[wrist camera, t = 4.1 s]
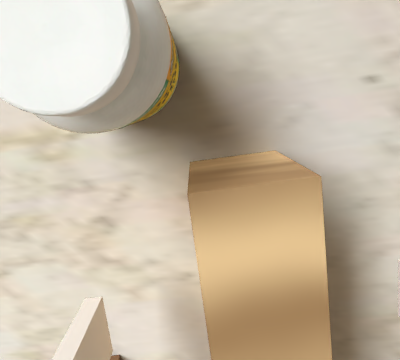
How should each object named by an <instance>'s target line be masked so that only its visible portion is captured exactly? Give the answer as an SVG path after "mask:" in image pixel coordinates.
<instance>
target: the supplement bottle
mask: <svg viewBox="0 0 400 360" xmlns="http://www.w3.org/2000/svg"><path fill="white" fill-rule="evenodd" d="M178 77H179V59H178V53H177V49H176V46H175V43H174V40H173V37H172V34H171V31H170V28H169V25H168V22H167V19H166V16H165V14H164V12H163V10H162V8H161V5H160V3H159V1H158V0H0V98H1V99H2V100H4V101H5V102H7V103H9V104H11V105H12V106H14V107H16V108H19V109H21V110H23V111H26V112H30V113H33V114H34V115H36V116H37V117H38V118H40V119H42V120H43V121H45V122H47V123H49V124H51V125H53V126H55V127H58V128H61V129H64V130H67V131H71V132H77V133H102V132H107V131H112V130H116V129H120V128H123V127H125V126H127V125H130V124H133V123H136V122H138V121H141V120H144V119H146V118H149V117H150V116H152V115H154V114H156V113H157V112H158V111H160V110H161V109H162V108H163V107H164V106H165V105H166V104H167V103H168V101H169V100H170V98H171V97H172V95H173V93H174V90H175V88H176V85H177V82H178Z"/></svg>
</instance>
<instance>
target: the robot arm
mask: <svg viewBox="0 0 400 360" xmlns="http://www.w3.org/2000/svg"><path fill="white" fill-rule="evenodd" d="M398 316H399V317H400V260H398ZM112 352H113V349H112V344H111V339H110V334H109V329H108V324H107V319H106V314H105V309H104V303H103V298H102V296H101V297H93V298H85V299H84V301H83V303H82V305H81V306H80V308H79V310H78V312H77V314H76V316H75V317H74V319H73V321H72V323H71V325H70V327H69V328H68V330H67V332H66V334H65V336H64V338H63V339H62V341H61V343H60V345H59V347H58V349H57V350H56V352H55V354H54V356H53V358H52V360H110V358H111V355H112Z"/></svg>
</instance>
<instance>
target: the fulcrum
mask: <svg viewBox="0 0 400 360" xmlns="http://www.w3.org/2000/svg"><path fill="white" fill-rule="evenodd" d="M110 360H120V355H115V356H111V358H110Z"/></svg>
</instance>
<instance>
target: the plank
mask: <svg viewBox="0 0 400 360" xmlns="http://www.w3.org/2000/svg"><path fill="white" fill-rule="evenodd" d="M187 194H188V201H189V208H190V215H191V222H192V229H193V236H194V243H195V250H196V257H197V263H198V270H199V277H200V284H201V291H202V298H203V305H204V312H205V319H206V326H207V333H208V339H209V346H210V353H211V360H332V349H331V332H330V315H329V299H328V282H327V265H326V248H325V232H324V215H323V198H322V182H321V176H320V175H318V174H316V173H314V172H313V171H311V170H309V169H307V168H306V167H304V166H302V165H300V164H298V163H297V162H295V161H293V160H291V159H290V158H288V157H286V156H284V155H282V154H281V153H279V152H277V151H268V152H260V153H253V154H245V155H238V156H230V157H223V158H215V159H208V160H200V161H193V162H190V170H189V181H188V193H187Z"/></svg>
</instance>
